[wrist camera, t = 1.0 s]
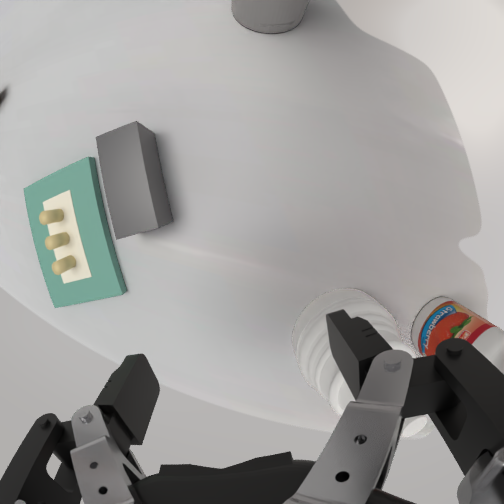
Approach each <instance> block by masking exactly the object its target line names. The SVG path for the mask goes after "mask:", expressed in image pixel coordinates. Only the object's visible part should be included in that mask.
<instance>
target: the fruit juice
mask: <svg viewBox="0 0 504 504" xmlns="http://www.w3.org/2000/svg"><path fill="white" fill-rule="evenodd" d="M449 338H461V339H464V340H466V341H468V342H469V343H470V344H472V345H473V346H474V347H475V348H476V349H477V350H478V351H479V352H480V353H482V354H483V355H484V356H485V357H486V358H487V359H488V360H489V361H490V362H491V363H492V364H493V365H494V366H495V367H497V368H498V369H499V370H500V371H501V372H502V373H503V374H504V331H503V330H502V329H500V328H498V327H497V326H495V325H493V324H492V323H490V322H489V321H487V320H485V319H484V318H482V317H480V316H479V315H477V314H476V313H474V312H472V311H471V310H469V309H467V308H465V307H464V306H462V305H460V304H459V303H457V302H455V301H454V300H452V299H449V298H446V297H439V298H436V299H433V300H432V301H430V302H429V303H427V304H426V305H425V306H424V307H423V309H422V310H421V311H420V312H419V314H418V316H417V317H416V319H415V322H414V324H413V328H412V342H413V344H414V346H415V348H416V349H417V350H418V351H419V352H420V353H421V354H422V355H423V356H424V357H425V356H430V355H435V350H436V347H437V345H438V344H439V343H440V342H442V341H444V340H446V339H449Z"/></svg>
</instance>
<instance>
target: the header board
mask: <svg viewBox="0 0 504 504" xmlns="http://www.w3.org/2000/svg"><path fill="white" fill-rule="evenodd" d="M24 195H25V201H26V207H27V212H28V217H29V222H30V227H31V231H32V236H33V240H34V244H35V248H36V252H37V255H38V259H39V262H40V266H41V269H42V272H43V276H44V279H45V282H46V285H47V288H48V291H49V294H50V296H51V299H52V302H53V305H54V307H55V308H58V307H63V306H68V305H73V304H78V303H83V302H89V301H94V300H99V299H104V298H109V297H114V296H118V295H123V294H124V293H125V292H126V291H127V289H126V286H125V283H124V280H123V277H122V274H121V270H120V267H119V264H118V261H117V257H116V254H115V250H114V247H113V243H112V239H111V235H110V232H109V228H108V224H107V219H106V215H105V211H104V206H103V202H102V197H101V192H100V187H99V182H98V177H97V171H96V165H95V159H94V158H93V157H86V158H84V159H82V160H80V161H77V162H75V163H73V164H71V165H69V166H67V167H65V168H62V169H60V170H58V171H56V172H54V173H52V174H50V175H48V176H47V177H45V178H43V179H41V180H39V181H37V182H35V183H33V184H32V185H30V186H28V187H26V188H24Z"/></svg>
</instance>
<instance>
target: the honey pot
mask: <svg viewBox="0 0 504 504" xmlns="http://www.w3.org/2000/svg"><path fill="white" fill-rule="evenodd" d="M342 309H344V310H345V311H346V313H347V314H348V315H349V316H350V318H351V319H352V318H355V317H360V318H363V319H365V320H368V322H369V323H370V324H371V325H372V326H373V328H375V329H376V330H377V332H378V333H379V334H380V335H381V336H382V337H383V338H384V339H385V341H386V342H387V343H388V344H389V345H390V346H391V347H392V348H393V350H403V351H406V352H408V353H409V354H410V355H411V356H412V358H417V356H416V353H415V351H414V350H413V349H412V348H411V346H410V345H408V344H406V343H404V342H403V340H402V337H401V336H400V333H399V329H398V326H397V323H396V321H395V319H394V318H393V316H392V315H391V314H390V313H389V311H388V310H386V309H385V308H384V307H383V306H382V305H381V304H380V303H378V302H377V301H376V300H375V299H374V298H372V297H371V296H370V295H368V294H366V293H365V292H363V291H361V290H357V289H352V288H344V289H336V290H333V291H330V292H327V293H324V294H323V295H321V296H319V297H318V298H316V299H314V300H313V301H312V302H311V303H310V304H309V305H308V306H307V307H306V308H305V309H304V310H303V311H302V313H301V314H300V316H299V317H298V319H297V321H296V323H295V326H294V329H293V333H292V346H293V349H294V353H295V356H296V359H297V362H298V365H299V368H300V370H301V374H302V376H303V377H304V379H305V380H306V382H307V383H308V384H309V386H311V387H312V388H314V389H315V390H316V391H317V392H318V393H320V395H321V396H322V397H323V398H324V399H326V400H327V401H328V402H329V403H330V406H331V408H332V409H333V411H334V412H335V413H336V414H338V415H339V416H342V414H343V412H344V410H345V408H346V406H347V405H348V403H349V402H350V401H355V399H354V397H353V395H352V393H351V391H350V389H349V387H348V385H347V383H346V381H345V379H344V377H343V375H342V373H341V372H340V370H339V368H338V366H337V364H336V362H335V360H334V358H333V356H332V352H331V349H330V343H329V336H328V329H327V322H326V314H328V313H332V312H335V311H338V310H342ZM355 402H356V401H355ZM426 422H427V418H426V417H425V416H424V415H420V416H415V417H410V418H406V419H405V422H404V426H403V429H402V433H401V434H402V436H403V437H410V436H413V435H415V434H416V433H418V432H419V431H420V430H421V429H422V428H423V427H424V426H425V424H426Z"/></svg>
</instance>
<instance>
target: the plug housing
mask: <svg viewBox="0 0 504 504" xmlns="http://www.w3.org/2000/svg"><path fill="white" fill-rule="evenodd" d="M96 141H97V148H98V154H99V161H100V167H101V172H102V178H103V183H104V188H105V193H106V198H107V202H108V207H109V211H110V216H111V220H112V224H113V228H114V232H115V236H116V239H120V238H124V237H128V236H131V235H135V234H138V233H142V232H146V231H149V230H153V229H157V228H160V227H162V226H164V225H167V224H169V223H171V222H173V218H172V214H171V210H170V205H169V201H168V197H167V192H166V188H165V183H164V179H163V174H162V169H161V164H160V160H159V155H158V149H157V144H156V139H155V134H154V133H153V132H152V131H150V130H149V129H148V128H146V127H145V126H143V125H142V124H140V123H139V122H137V121H136V122H133V123H130V124H127V125H125V126H122V127H119V128H117V129H114V130H112V131H109V132H107V133H105V134H102V135H100V136H97V137H96Z"/></svg>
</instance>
